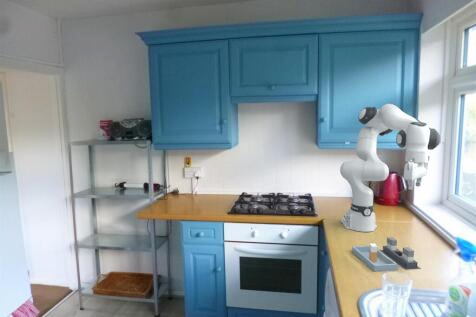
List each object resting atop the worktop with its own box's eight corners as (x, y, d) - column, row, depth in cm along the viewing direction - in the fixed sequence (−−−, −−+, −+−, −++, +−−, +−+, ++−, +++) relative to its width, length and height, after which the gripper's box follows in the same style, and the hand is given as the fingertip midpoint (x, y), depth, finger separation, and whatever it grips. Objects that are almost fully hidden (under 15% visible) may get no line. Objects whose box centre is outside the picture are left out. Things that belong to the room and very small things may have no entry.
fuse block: (379, 252, 153) (379, 245, 153) (393, 251, 154) (393, 244, 154) (405, 272, 134) (405, 263, 133) (421, 271, 134) (421, 263, 134)
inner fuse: (386, 251, 152) (387, 237, 151) (391, 251, 152) (391, 237, 151) (391, 255, 148) (392, 240, 147) (396, 255, 148) (396, 240, 147)
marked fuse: (369, 258, 145) (369, 243, 144) (374, 258, 144) (375, 243, 144) (370, 261, 141) (371, 246, 140) (376, 262, 141) (377, 246, 140)
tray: (351, 253, 152) (352, 246, 152) (372, 252, 153) (372, 245, 153) (374, 273, 132) (374, 265, 132) (397, 272, 133) (397, 264, 133)
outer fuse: (401, 263, 140) (402, 247, 139) (407, 262, 140) (408, 247, 139) (407, 267, 136) (408, 251, 135) (413, 266, 136) (414, 250, 135)
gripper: (416, 160, 138) (414, 192, 140) (431, 156, 152) (429, 185, 154) (400, 159, 143) (398, 190, 144) (416, 155, 157) (414, 183, 158)
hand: (414, 187), depth 149 cm, fingers open, 8 cm apart
